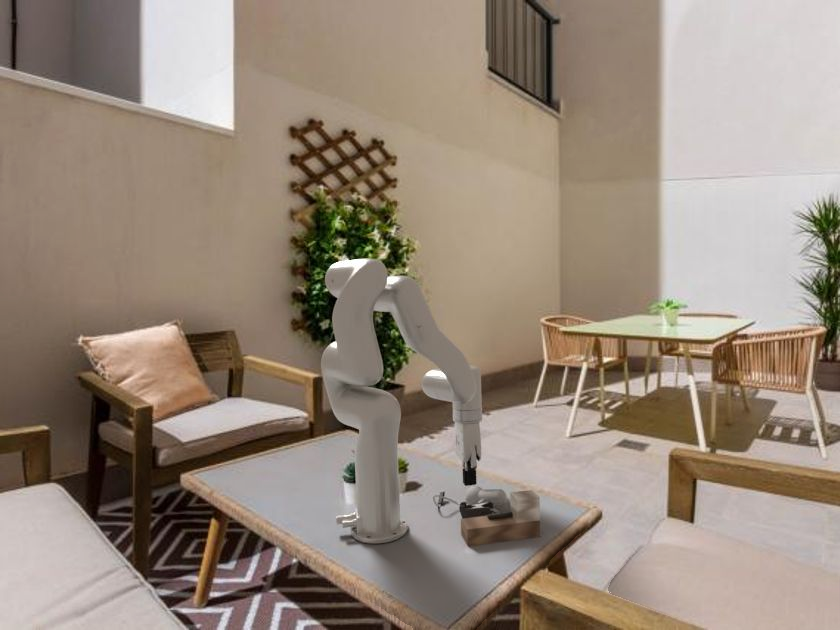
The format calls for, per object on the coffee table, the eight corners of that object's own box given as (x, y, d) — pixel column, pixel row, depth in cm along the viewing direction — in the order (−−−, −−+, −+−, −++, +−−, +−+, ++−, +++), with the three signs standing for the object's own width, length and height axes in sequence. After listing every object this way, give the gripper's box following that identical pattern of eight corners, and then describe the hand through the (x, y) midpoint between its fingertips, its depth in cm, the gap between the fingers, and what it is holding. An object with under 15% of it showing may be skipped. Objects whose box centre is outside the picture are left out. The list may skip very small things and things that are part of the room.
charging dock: (467, 546, 106) (466, 505, 106) (459, 531, 113) (458, 493, 112) (540, 536, 109) (539, 497, 109) (528, 522, 116) (527, 485, 115)
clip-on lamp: (426, 525, 123) (492, 527, 112) (419, 500, 123) (484, 499, 112) (451, 502, 132) (513, 502, 122) (444, 479, 132) (506, 476, 122)
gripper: (446, 408, 139) (449, 475, 140) (460, 423, 124) (463, 497, 125) (473, 406, 140) (475, 472, 141) (490, 420, 126) (492, 494, 127)
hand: (469, 484), depth 133 cm, fingers closed
